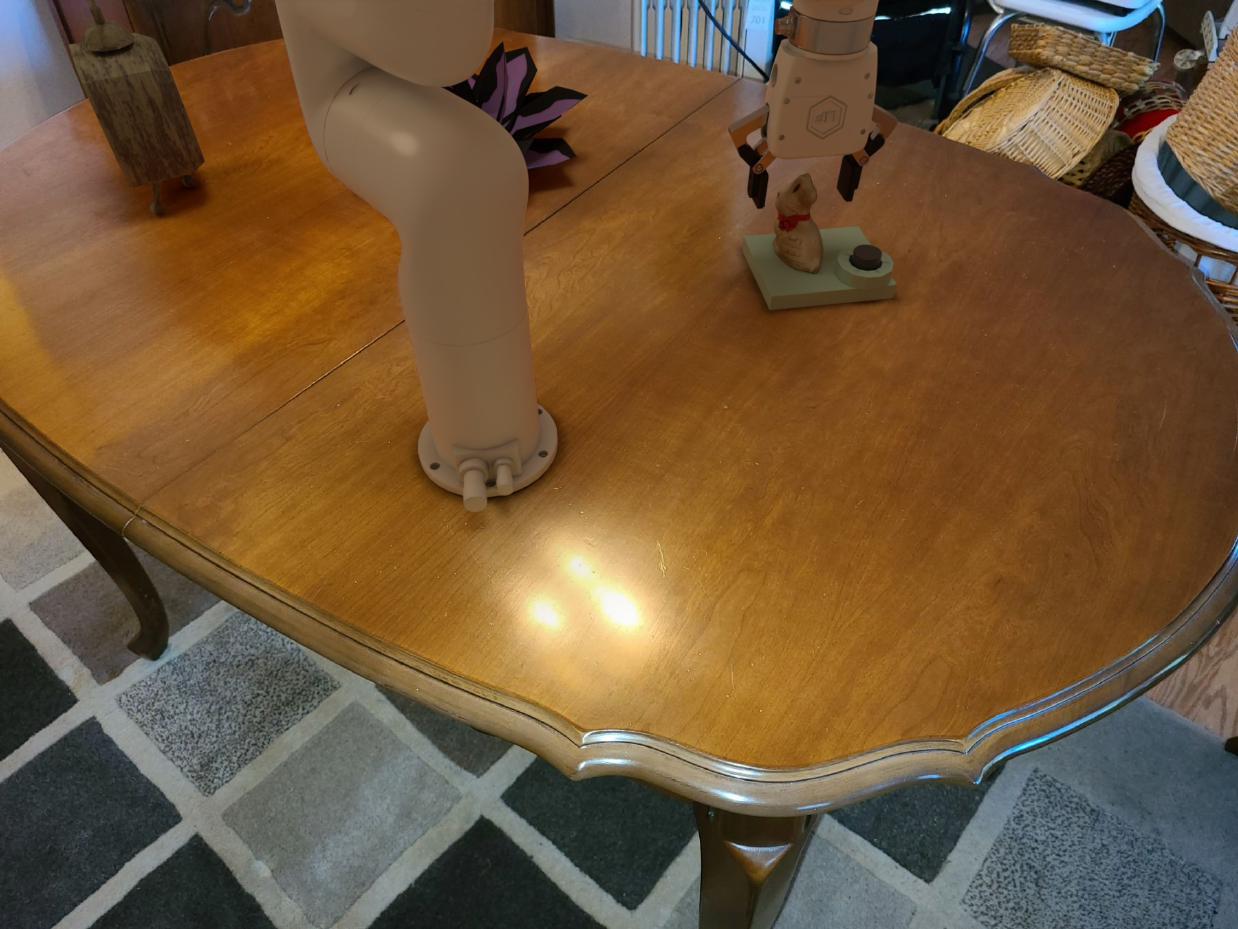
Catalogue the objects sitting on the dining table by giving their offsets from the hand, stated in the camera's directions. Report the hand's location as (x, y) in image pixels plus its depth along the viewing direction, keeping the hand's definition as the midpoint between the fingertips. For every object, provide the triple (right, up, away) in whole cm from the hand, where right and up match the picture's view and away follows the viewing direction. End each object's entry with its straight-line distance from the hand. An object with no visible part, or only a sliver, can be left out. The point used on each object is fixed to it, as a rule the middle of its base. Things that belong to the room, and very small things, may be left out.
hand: (800, 198), depth 90 cm
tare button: (+7, -7, +1) cm, 10 cm away
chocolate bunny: (+1, -5, +5) cm, 7 cm away
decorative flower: (-40, +13, +24) cm, 48 cm away
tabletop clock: (-77, +7, +19) cm, 80 cm away
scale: (+3, -7, +6) cm, 9 cm away
